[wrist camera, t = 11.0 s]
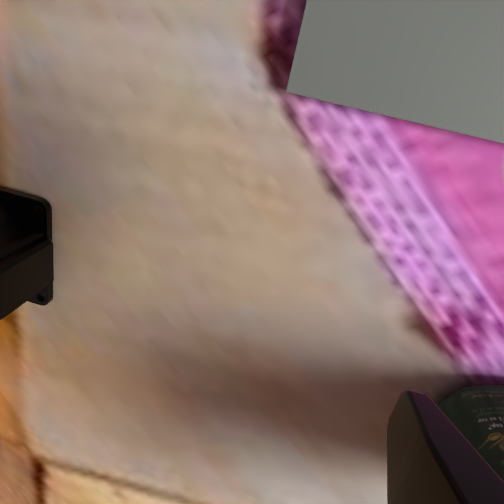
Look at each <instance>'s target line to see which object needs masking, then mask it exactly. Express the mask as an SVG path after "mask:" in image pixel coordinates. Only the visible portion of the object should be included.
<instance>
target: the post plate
mask: <svg viewBox="0 0 504 504" xmlns="http://www.w3.org/2000/svg"><path fill="white" fill-rule="evenodd" d="M286 92H288V93H293V94H297V95H301V96H305V97H309V98H314V99H318V100H322V101H326V102H331V103H335V104H339V105H343V106H348V107H352V108H356V109H360V110H364V111H369V112H373V113H377V114H381V115H386V116H390V117H394V118H398V119H403V120H407V121H411V122H415V123H419V124H424V125H428V126H432V127H436V128H441V129H445V130H449V131H453V132H457V133H462V134H466V135H470V136H474V137H479V138H483V139H487V140H491V141H496V142H500V143H504V0H307V2H306V6H305V11H304V15H303V20H302V24H301V29H300V33H299V37H298V42H297V46H296V51H295V55H294V59H293V64H292V68H291V73H290V77H289V82H288V86H287V90H286Z"/></svg>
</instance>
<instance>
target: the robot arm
mask: <svg viewBox="0 0 504 504" xmlns="http://www.w3.org/2000/svg"><path fill="white" fill-rule="evenodd" d="M39 206H40V207H41V208H42V211H41V210H40V209H39ZM53 280H54V277H53V243H52V209H51V205H50V204H49V202H48V201H47V200H45V199H43V198H40V197H36V196H33V195H29V194H25V193H22V192H18V191H14V190H11V189H7V188H4V187H0V320H1V319H3V318H4V317H6V316H7V315H8V314H10V313H11V312H13V311H14V310H15V309H17V308H18V307H19V306H21V305H22V304H23V303H25V302H26V301H29V302H32V303H35V304H39V305H47V304H48V303H49V302H50V301H51V300H52V299H53ZM42 295H43V296H44V297H43V296H42ZM387 501H388V504H504V481H503V480H502V479H501V478H500V477H499V476H498V475H497V473H496V472H495V471H494V470H493V469H492V468H491V467H490V465H489V464H488V463H487V462H486V461H485V460H484V459H483V457H482V456H481V455H480V454H479V453H478V452H477V451H476V450H475V448H474V447H473V446H472V445H471V444H470V443H469V442H468V440H467V439H466V438H465V437H464V436H463V435H462V434H461V432H460V431H459V430H458V429H457V428H456V427H455V426H454V424H453V423H452V422H451V421H450V420H449V419H448V418H447V416H446V415H445V414H444V413H443V412H442V411H441V410H440V408H439V407H438V406H437V405H436V404H435V403H434V402H433V400H432V399H431V398H430V397H429V396H428V395H427V394H425V393H422V392H418V391H415V390H411V389H405V390H403V391H402V392H401V394H400V396H399V398H398V401H397V403H396V405H395V407H394V409H393V411H392V414H391V416H390V418H389V421H388V426H387Z"/></svg>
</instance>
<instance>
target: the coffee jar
mask: <svg viewBox="0 0 504 504" xmlns="http://www.w3.org/2000/svg"><path fill="white" fill-rule="evenodd" d="M438 407H439V408H440V410H441V411H442V412H443V413H444V414H445V415H446V416H447V418H448V419H449V420H450V421H451V422H452V423H453V424H454V426H455V427H456V428H457V429H458V430H459V431H460V432H461V434H462V435H463V436H464V437H465V438H466V439H467V440H468V442H469V443H470V444H471V445H472V446H473V447H474V448H475V450H476V451H477V452H478V453H479V454H480V455H481V456H482V457H483V459H484V460H485V461H486V462H487V463H488V464H489V465H490V467H491V468H492V469H493V470H494V471H495V472H496V473H497V475H498V476H499V477H500V478H501V479H502V480H503V481H504V385H474V386H469V387H465V388H461V389H459V390H458V391H457V392H455V393H453V394H451V395H449V396H448V397H446V398H445V399H444V400H443V401H442V402H441V403H440V404H439V405H438Z"/></svg>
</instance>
